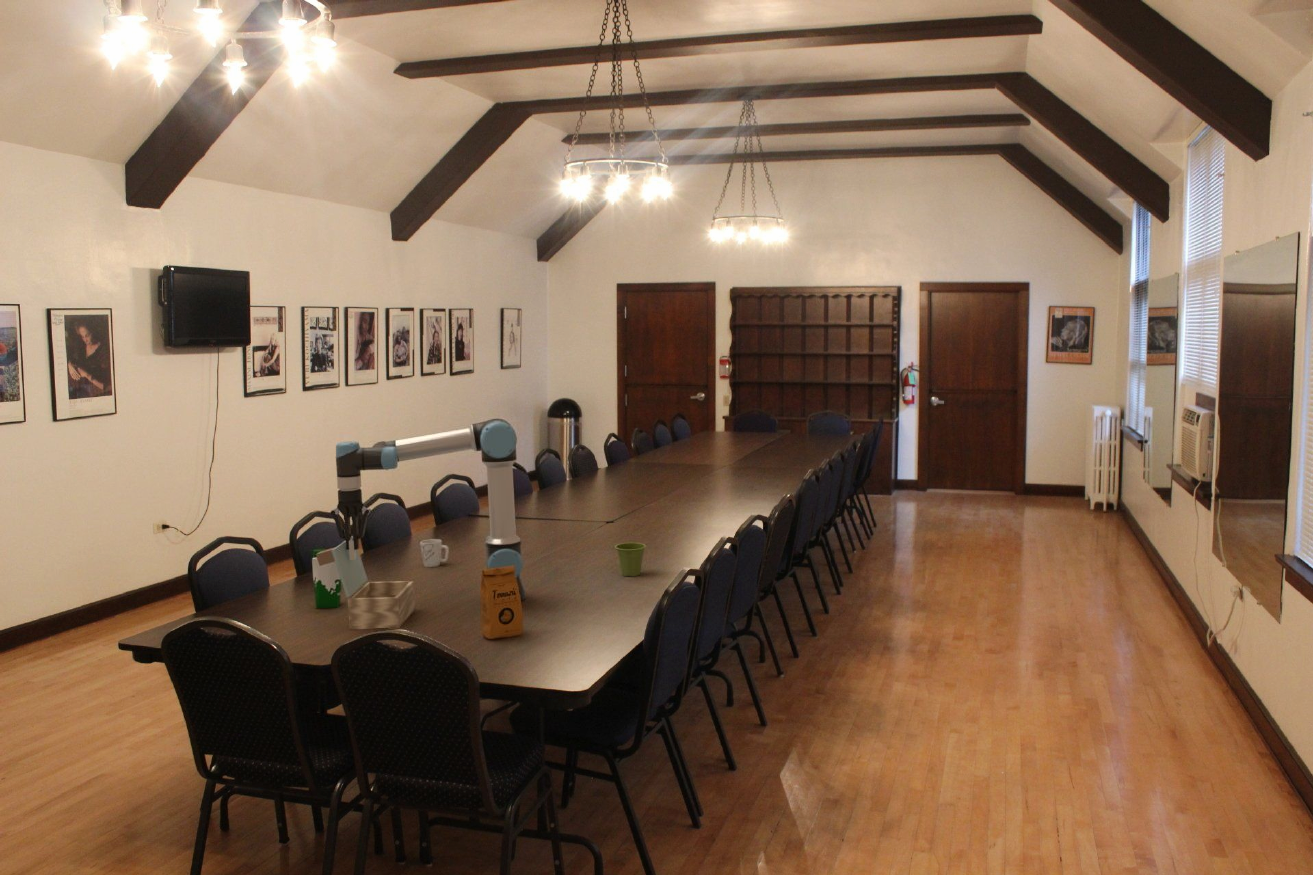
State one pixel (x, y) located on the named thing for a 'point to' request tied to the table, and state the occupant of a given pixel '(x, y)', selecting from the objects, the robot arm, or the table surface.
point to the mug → (433, 552)
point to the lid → (345, 567)
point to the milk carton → (326, 583)
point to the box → (381, 605)
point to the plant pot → (630, 558)
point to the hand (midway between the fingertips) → (353, 559)
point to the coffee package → (500, 603)
